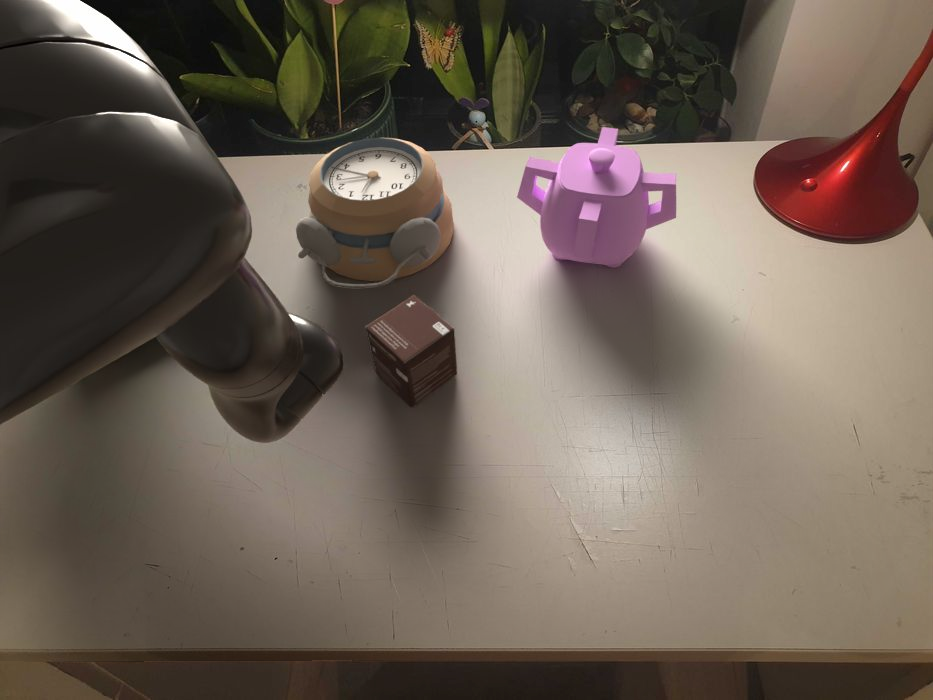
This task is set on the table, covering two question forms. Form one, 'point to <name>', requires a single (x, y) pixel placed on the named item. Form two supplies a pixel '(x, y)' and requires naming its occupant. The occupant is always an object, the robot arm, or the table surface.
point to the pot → (597, 201)
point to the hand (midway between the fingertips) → (84, 213)
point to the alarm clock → (376, 212)
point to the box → (413, 350)
